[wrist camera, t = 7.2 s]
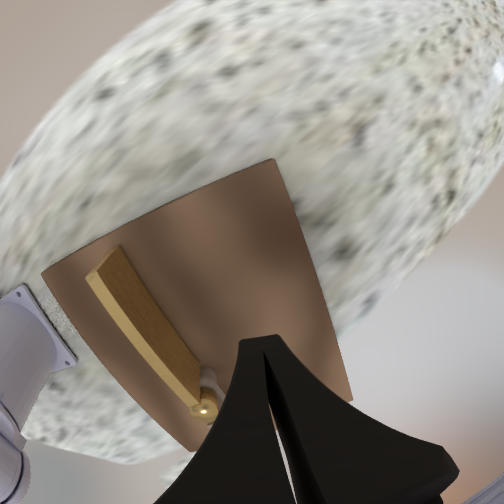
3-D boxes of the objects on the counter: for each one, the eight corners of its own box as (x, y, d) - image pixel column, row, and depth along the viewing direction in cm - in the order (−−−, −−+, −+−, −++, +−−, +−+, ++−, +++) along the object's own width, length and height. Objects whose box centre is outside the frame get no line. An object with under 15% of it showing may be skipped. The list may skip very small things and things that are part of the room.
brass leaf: (220, 379, 20) (223, 418, 17) (200, 387, 20) (199, 425, 17) (125, 241, 16) (103, 266, 12) (102, 254, 16) (78, 282, 12)
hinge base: (196, 449, 25) (196, 487, 21) (47, 268, 17) (10, 301, 12) (351, 399, 25) (369, 436, 20) (271, 158, 16) (292, 163, 12)
